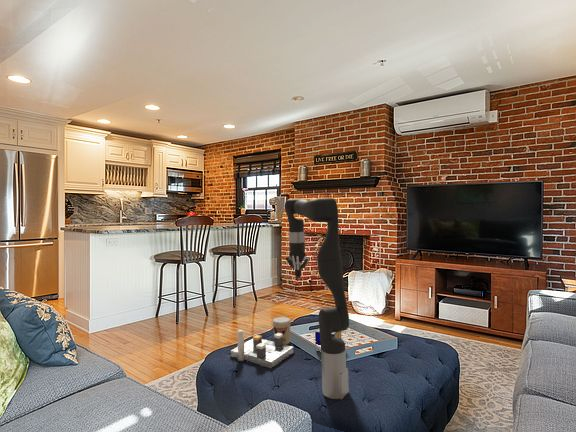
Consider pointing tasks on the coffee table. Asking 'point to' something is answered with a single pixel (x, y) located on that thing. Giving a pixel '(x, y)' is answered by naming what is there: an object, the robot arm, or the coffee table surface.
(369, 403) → the coffee table surface
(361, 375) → the coffee table surface
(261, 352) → the toggle
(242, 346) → the post
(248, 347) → the breaker panel
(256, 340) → the toggle
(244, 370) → the coffee table surface
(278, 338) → the toggle
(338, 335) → the puzzle cube
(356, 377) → the coffee table surface
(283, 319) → the coffee cup
